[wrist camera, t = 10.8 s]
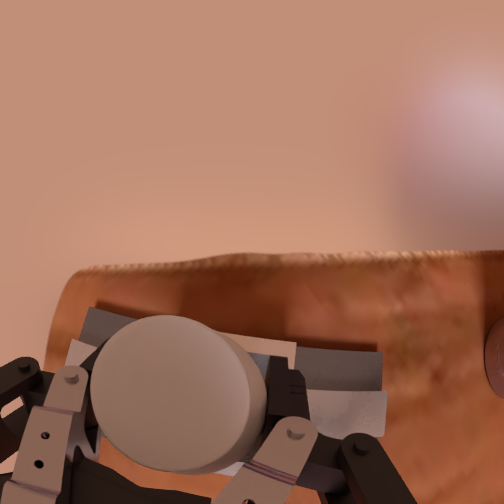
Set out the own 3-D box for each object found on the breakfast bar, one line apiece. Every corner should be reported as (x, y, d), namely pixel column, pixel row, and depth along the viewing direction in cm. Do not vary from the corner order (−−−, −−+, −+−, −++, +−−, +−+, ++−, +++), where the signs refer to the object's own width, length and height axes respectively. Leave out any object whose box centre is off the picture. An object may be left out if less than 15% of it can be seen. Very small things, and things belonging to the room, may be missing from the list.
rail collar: (377, 355, 20) (400, 342, 17) (367, 472, 15) (391, 480, 11) (94, 310, 21) (72, 291, 18) (67, 417, 16) (39, 413, 13)
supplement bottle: (189, 464, 12) (124, 521, 3) (144, 383, 14) (44, 337, 6) (274, 422, 13) (324, 433, 5) (225, 344, 16) (210, 257, 8)
